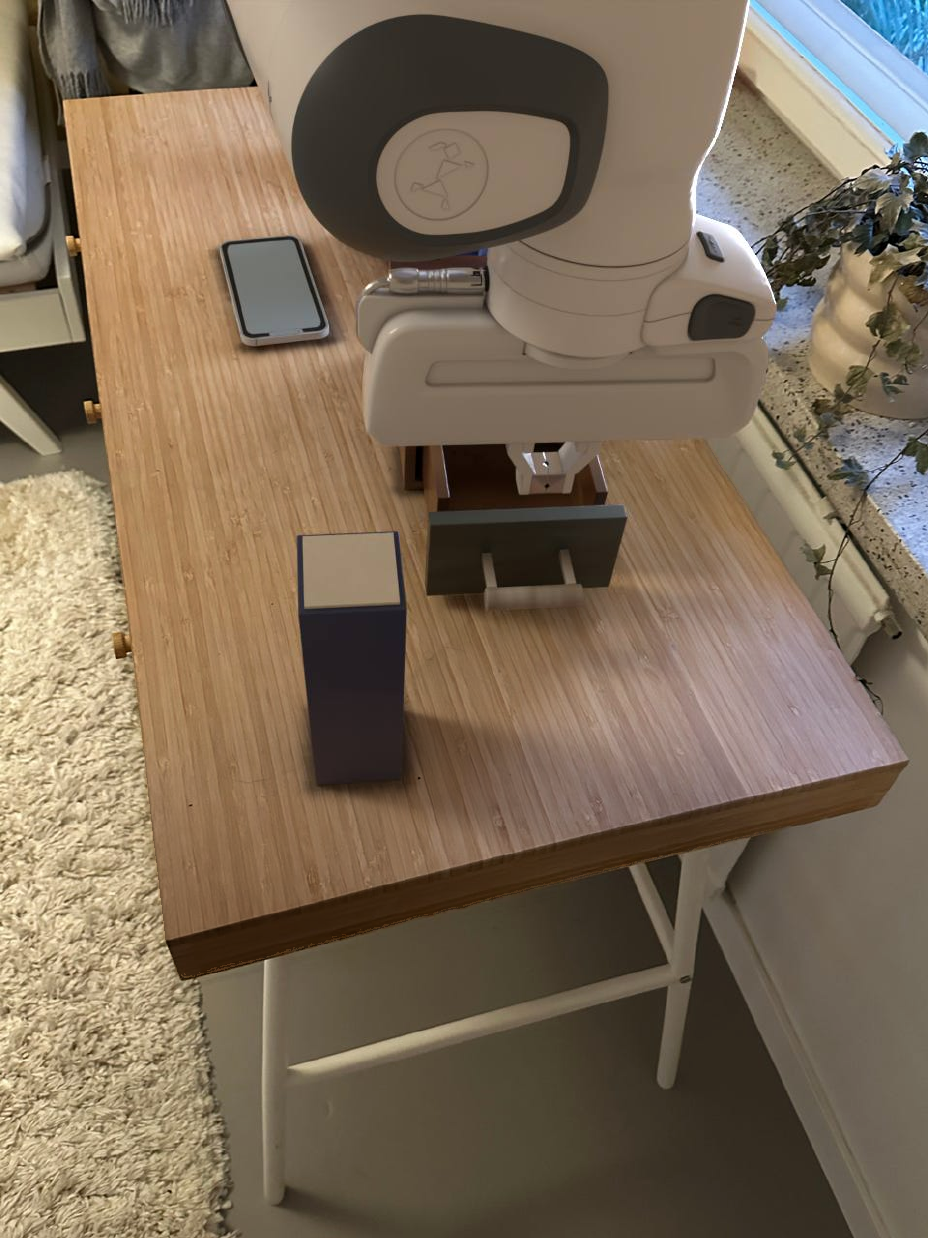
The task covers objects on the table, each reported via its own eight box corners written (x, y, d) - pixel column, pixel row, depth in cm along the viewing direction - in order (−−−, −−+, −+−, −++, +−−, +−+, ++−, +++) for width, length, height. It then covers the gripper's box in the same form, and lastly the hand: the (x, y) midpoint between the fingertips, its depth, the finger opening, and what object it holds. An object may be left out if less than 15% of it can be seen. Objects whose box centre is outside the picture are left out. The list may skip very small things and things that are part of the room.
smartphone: (299, 233, 93) (331, 330, 84) (299, 242, 94) (331, 339, 85) (217, 241, 91) (241, 340, 82) (218, 249, 92) (242, 349, 83)
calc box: (315, 785, 59) (297, 612, 46) (313, 713, 62) (296, 531, 49) (401, 779, 60) (407, 606, 47) (395, 708, 63) (398, 527, 50)
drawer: (622, 638, 66) (643, 569, 61) (432, 648, 65) (437, 579, 59) (568, 432, 78) (582, 360, 73) (407, 437, 77) (409, 364, 71)
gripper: (358, 312, 43) (360, 533, 54) (812, 308, 46) (728, 520, 57) (351, 230, 47) (354, 452, 58) (770, 231, 50) (699, 444, 61)
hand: (542, 486), depth 58 cm, fingers closed
